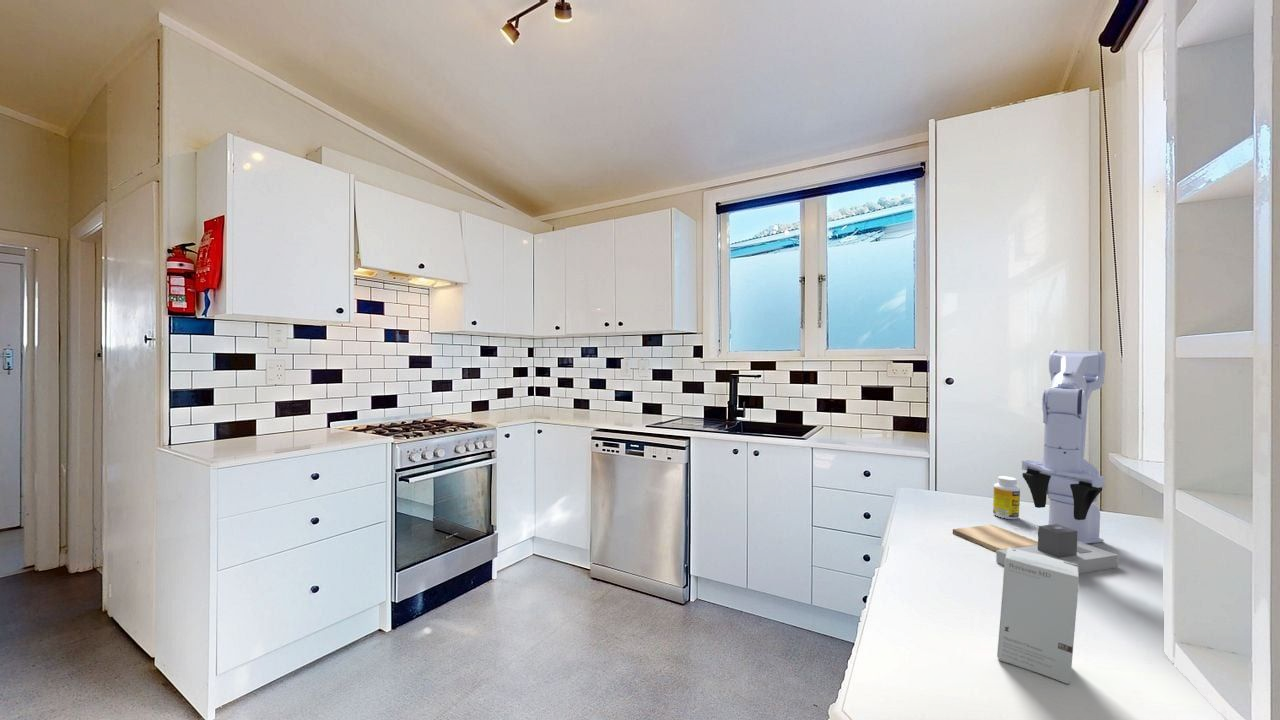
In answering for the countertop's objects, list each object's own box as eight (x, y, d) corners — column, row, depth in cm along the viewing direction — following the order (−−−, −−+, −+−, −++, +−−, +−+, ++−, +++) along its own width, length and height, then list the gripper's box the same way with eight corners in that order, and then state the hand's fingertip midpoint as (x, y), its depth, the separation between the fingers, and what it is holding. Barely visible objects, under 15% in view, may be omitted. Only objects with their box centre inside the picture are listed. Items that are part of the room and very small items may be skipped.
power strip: (1074, 551, 110) (1074, 537, 110) (1117, 567, 102) (1118, 552, 102) (996, 562, 104) (996, 547, 104) (1036, 579, 96) (1036, 563, 96)
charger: (1055, 558, 106) (1056, 523, 105) (1076, 567, 102) (1077, 530, 102) (1037, 561, 104) (1038, 525, 104) (1057, 569, 100) (1059, 532, 100)
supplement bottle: (1013, 521, 128) (1015, 481, 128) (989, 515, 133) (990, 476, 132) (1022, 517, 131) (1024, 478, 131) (998, 511, 136) (999, 474, 135)
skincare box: (996, 661, 71) (1000, 557, 71) (1001, 641, 76) (1004, 544, 76) (1075, 687, 66) (1079, 575, 65) (1074, 665, 71) (1078, 560, 70)
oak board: (991, 528, 123) (991, 524, 123) (1042, 548, 111) (1042, 543, 111) (952, 533, 120) (952, 529, 120) (1000, 553, 108) (1001, 549, 108)
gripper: (1012, 441, 109) (1009, 503, 109) (1087, 455, 95) (1084, 526, 95) (1036, 439, 111) (1034, 501, 111) (1114, 453, 97) (1111, 523, 97)
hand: (1059, 512), depth 103 cm, fingers open, 7 cm apart
